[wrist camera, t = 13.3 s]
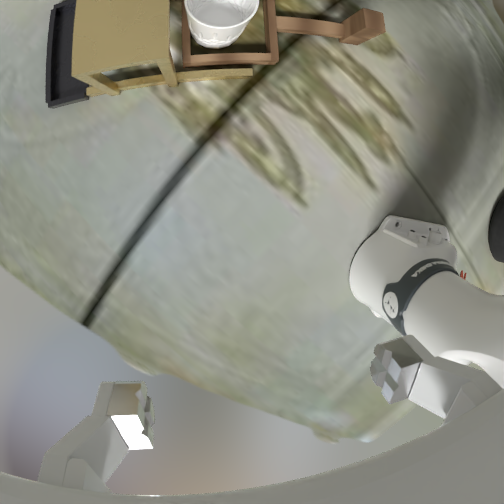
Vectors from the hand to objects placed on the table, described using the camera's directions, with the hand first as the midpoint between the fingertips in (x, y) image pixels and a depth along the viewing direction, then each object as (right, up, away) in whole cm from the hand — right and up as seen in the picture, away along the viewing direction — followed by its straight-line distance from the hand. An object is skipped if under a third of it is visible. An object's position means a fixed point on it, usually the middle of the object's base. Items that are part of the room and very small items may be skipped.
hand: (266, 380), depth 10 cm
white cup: (-5, +34, +24) cm, 42 cm away
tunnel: (-15, +33, +22) cm, 42 cm away
